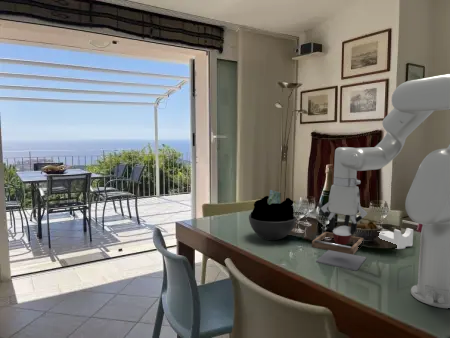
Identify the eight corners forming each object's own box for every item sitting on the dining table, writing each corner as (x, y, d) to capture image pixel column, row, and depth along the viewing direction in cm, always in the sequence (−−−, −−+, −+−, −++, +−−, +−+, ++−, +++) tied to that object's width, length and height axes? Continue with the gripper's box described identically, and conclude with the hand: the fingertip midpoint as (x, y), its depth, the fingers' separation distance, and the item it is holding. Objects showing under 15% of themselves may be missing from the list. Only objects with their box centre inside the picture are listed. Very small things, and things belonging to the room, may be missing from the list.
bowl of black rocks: (239, 238, 150) (239, 195, 148) (270, 230, 163) (271, 190, 161) (273, 250, 135) (274, 202, 133) (304, 240, 147) (306, 196, 145)
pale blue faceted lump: (243, 216, 190) (250, 185, 191) (275, 223, 196) (282, 192, 197) (256, 223, 173) (264, 188, 173) (291, 230, 179) (298, 196, 179)
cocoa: (338, 248, 119) (340, 214, 117) (326, 242, 125) (327, 210, 123) (359, 243, 123) (360, 211, 121) (346, 238, 128) (347, 207, 127)
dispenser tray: (353, 255, 130) (353, 247, 129) (311, 246, 138) (312, 239, 138) (363, 243, 143) (363, 237, 142) (324, 237, 152) (325, 230, 151)
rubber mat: (356, 270, 114) (356, 269, 114) (315, 262, 122) (315, 260, 122) (366, 258, 126) (366, 257, 126) (328, 251, 134) (328, 249, 134)
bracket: (412, 248, 139) (413, 229, 138) (397, 249, 137) (399, 231, 136) (388, 238, 151) (389, 221, 150) (374, 240, 149) (375, 223, 148)
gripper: (373, 183, 119) (370, 233, 121) (324, 179, 129) (322, 225, 131) (368, 186, 113) (365, 238, 115) (317, 181, 123) (315, 230, 125)
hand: (342, 231), depth 123 cm, fingers closed on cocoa, 6 cm apart
